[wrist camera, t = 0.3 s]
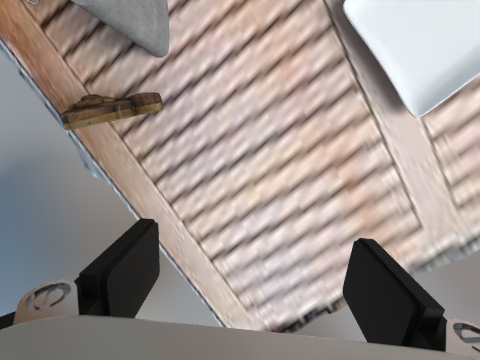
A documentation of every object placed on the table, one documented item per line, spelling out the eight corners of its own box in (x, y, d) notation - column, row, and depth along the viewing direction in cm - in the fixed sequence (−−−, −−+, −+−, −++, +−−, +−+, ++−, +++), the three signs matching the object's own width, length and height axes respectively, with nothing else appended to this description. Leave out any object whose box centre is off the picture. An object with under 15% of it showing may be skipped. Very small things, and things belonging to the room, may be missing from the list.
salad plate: (331, 14, 34) (339, 3, 31) (464, -108, 30) (490, -136, 27) (402, 121, 38) (417, 121, 35) (530, 27, 33) (561, 17, 30)
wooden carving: (164, 84, 38) (135, 72, 28) (174, 111, 39) (148, 108, 29) (80, 111, 40) (26, 109, 30) (91, 136, 41) (42, 141, 31)
